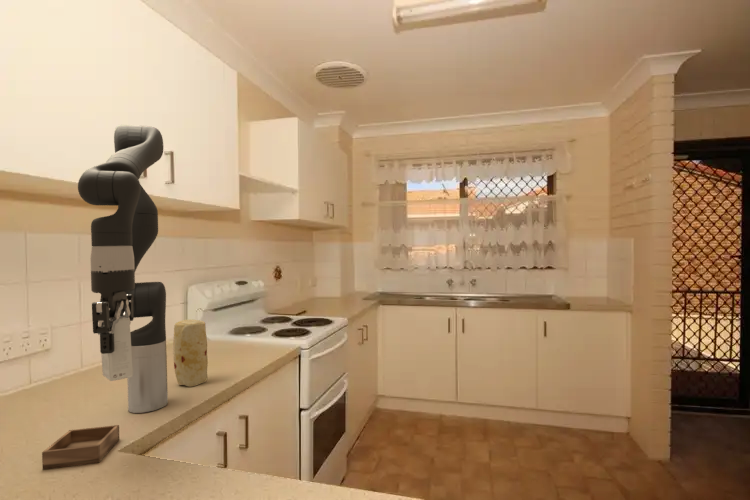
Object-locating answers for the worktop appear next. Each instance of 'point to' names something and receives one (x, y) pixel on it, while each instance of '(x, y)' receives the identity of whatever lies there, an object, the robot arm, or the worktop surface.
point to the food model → (190, 352)
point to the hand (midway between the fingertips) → (115, 347)
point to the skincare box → (119, 353)
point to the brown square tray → (80, 447)
